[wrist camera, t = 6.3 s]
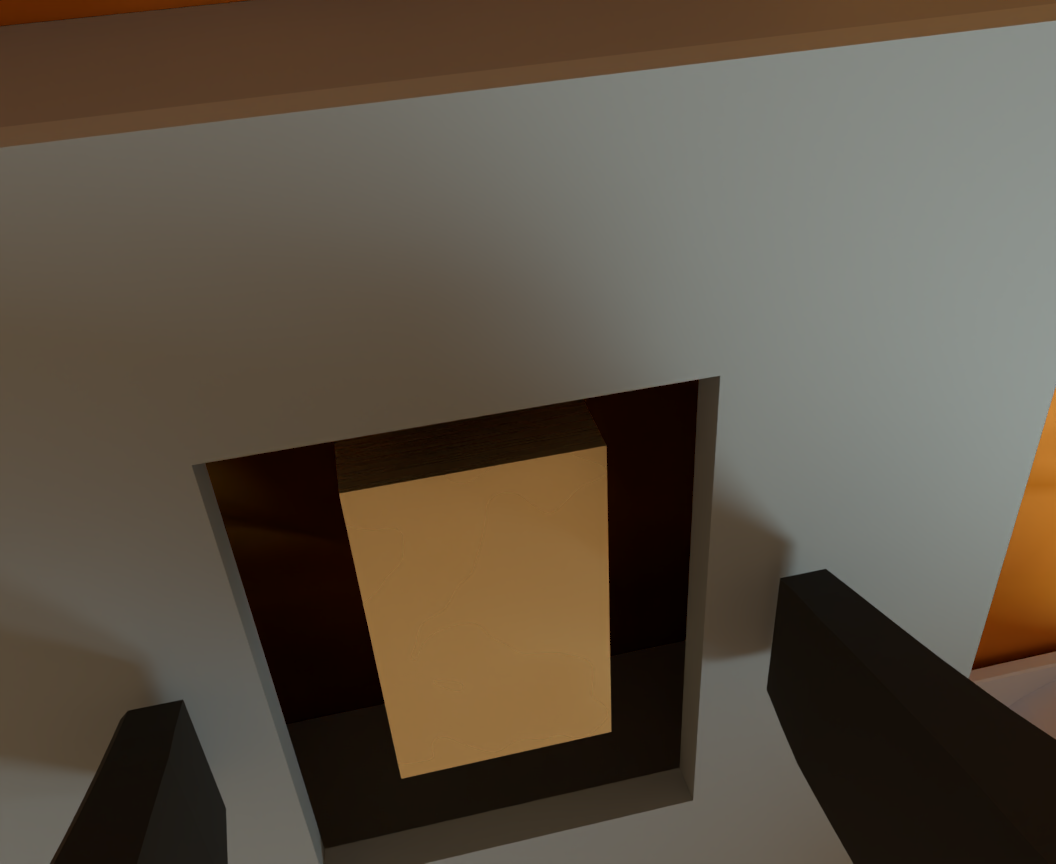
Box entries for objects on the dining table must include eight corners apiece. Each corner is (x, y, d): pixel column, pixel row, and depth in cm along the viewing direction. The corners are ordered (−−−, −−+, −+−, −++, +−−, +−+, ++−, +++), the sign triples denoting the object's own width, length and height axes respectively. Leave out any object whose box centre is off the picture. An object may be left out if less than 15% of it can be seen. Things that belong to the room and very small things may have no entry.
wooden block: (533, 514, 18) (611, 731, 14) (371, 545, 17) (401, 778, 13) (515, 264, 15) (606, 446, 11) (320, 293, 14) (339, 493, 10)
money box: (787, 644, 21) (915, 857, 17) (128, 785, 19) (88, 1066, 15) (884, -65, 13) (1167, 6, 9) (-224, 49, 11) (-521, 210, 7)
